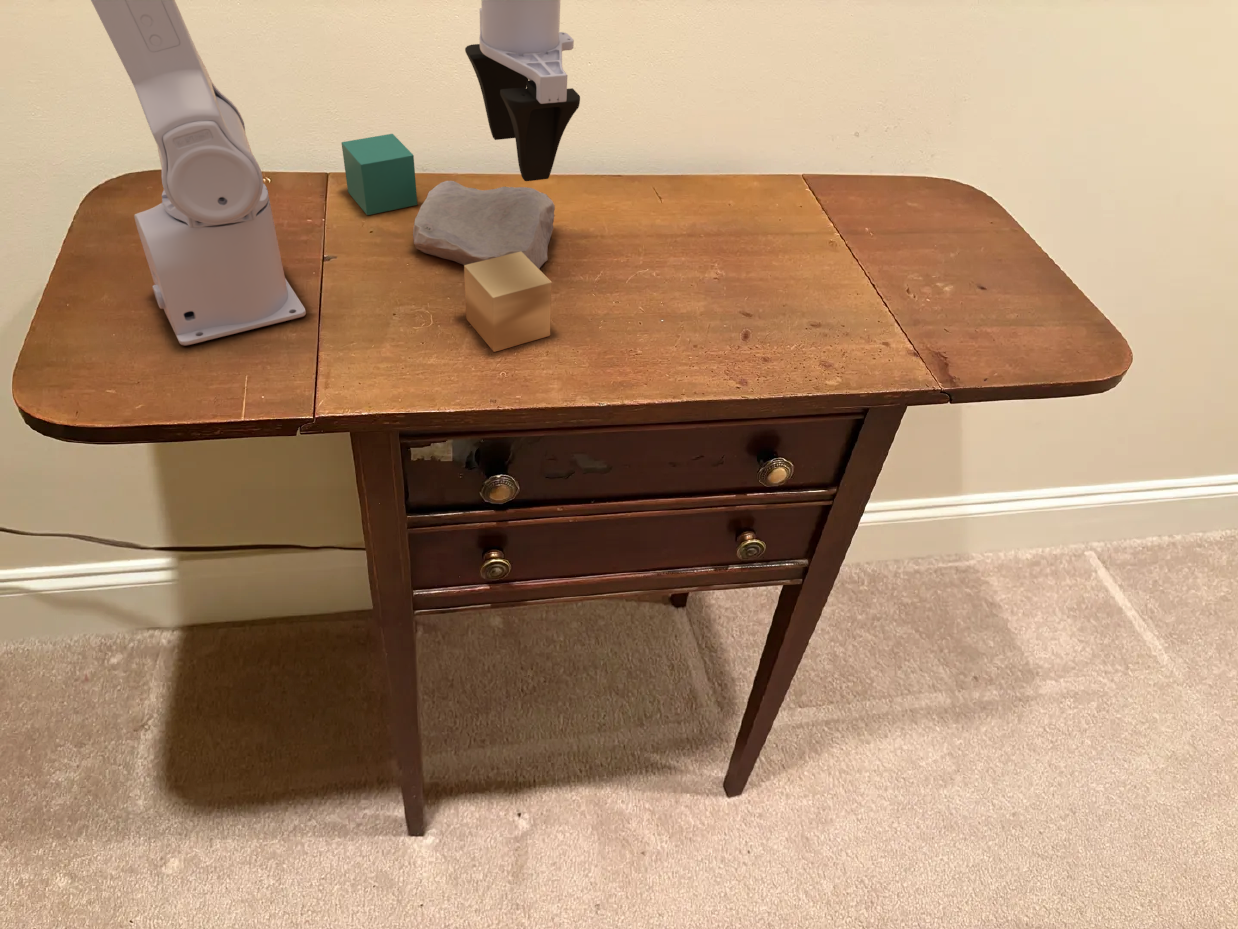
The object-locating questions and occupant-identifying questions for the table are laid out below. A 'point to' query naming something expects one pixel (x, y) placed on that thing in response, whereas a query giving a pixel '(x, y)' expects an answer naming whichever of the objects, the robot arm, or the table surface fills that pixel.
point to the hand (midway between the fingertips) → (519, 157)
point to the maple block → (507, 300)
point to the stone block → (484, 223)
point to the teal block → (380, 173)
